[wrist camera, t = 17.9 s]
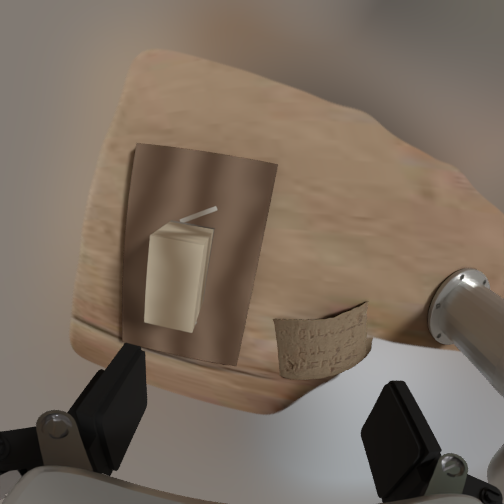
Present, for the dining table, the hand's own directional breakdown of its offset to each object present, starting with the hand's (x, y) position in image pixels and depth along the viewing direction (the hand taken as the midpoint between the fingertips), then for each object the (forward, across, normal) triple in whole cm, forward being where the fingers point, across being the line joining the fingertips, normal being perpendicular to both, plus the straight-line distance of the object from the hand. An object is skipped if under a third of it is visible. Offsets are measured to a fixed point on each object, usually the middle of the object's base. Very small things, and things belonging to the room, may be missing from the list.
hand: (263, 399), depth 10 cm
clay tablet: (+28, -10, +12) cm, 32 cm away
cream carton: (+24, +8, +4) cm, 26 cm away
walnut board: (+26, +8, +4) cm, 27 cm away
